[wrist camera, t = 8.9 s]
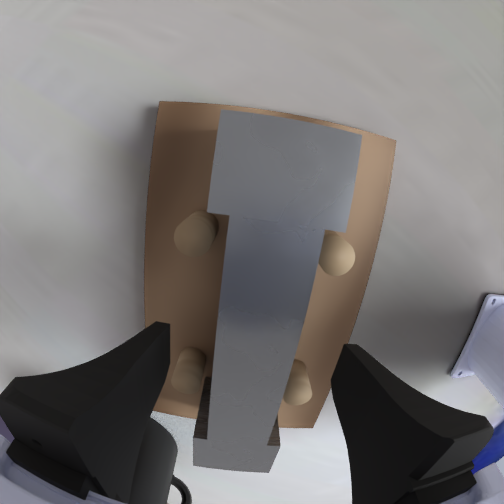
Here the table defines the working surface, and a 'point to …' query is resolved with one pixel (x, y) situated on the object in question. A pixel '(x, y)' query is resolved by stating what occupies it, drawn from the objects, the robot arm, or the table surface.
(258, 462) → the gray notched long block
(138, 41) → the table surface
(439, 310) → the table surface
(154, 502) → the mug
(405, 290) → the table surface
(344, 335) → the peg rack
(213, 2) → the table surface
